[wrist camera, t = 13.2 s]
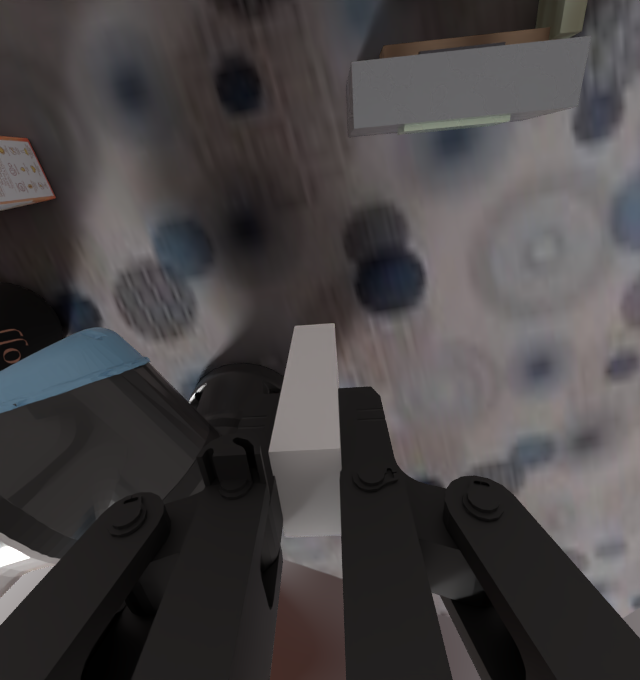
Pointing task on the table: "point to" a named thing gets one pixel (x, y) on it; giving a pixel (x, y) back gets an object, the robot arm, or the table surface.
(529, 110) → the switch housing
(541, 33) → the bay
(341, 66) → the table surface
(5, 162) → the cracker box
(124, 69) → the table surface
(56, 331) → the coffee jar
